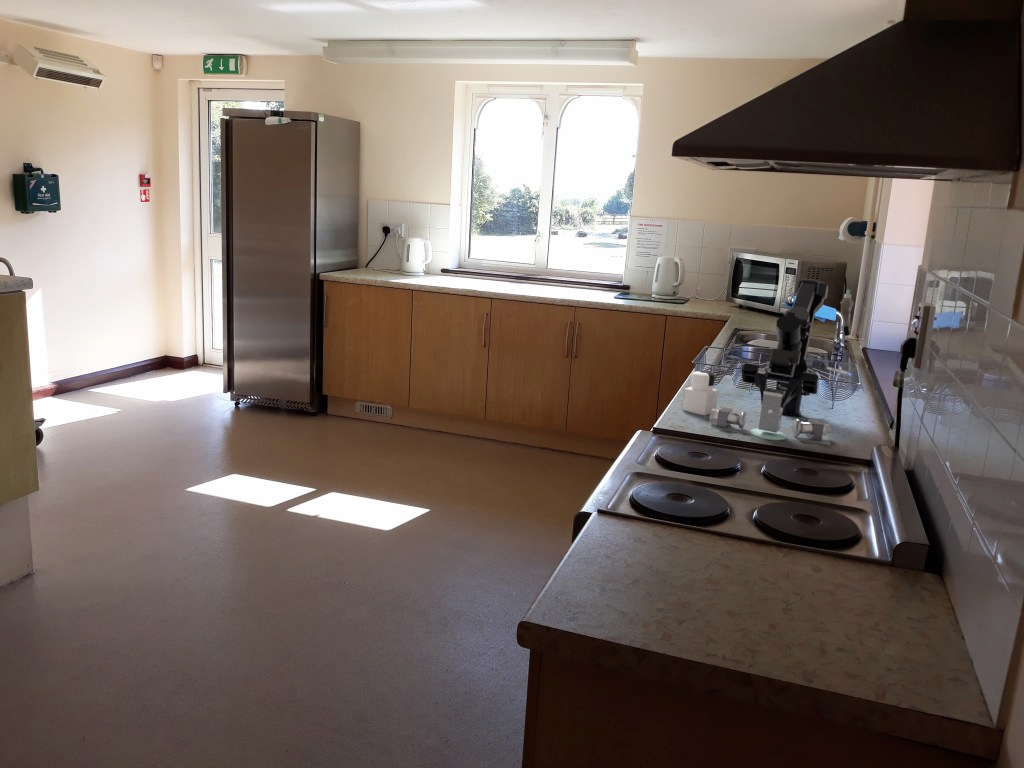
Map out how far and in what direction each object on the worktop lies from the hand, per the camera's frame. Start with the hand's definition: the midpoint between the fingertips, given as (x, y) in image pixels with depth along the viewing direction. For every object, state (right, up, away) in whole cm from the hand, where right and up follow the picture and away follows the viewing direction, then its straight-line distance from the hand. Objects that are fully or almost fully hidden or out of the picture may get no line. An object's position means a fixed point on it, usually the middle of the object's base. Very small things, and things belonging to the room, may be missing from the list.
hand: (771, 405), depth 206 cm
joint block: (0, -6, +3) cm, 7 cm away
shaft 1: (-10, -6, +8) cm, 14 cm away
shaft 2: (+11, -8, +3) cm, 14 cm away
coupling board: (+1, -8, +6) cm, 10 cm away
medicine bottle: (-13, -3, +23) cm, 26 cm away
